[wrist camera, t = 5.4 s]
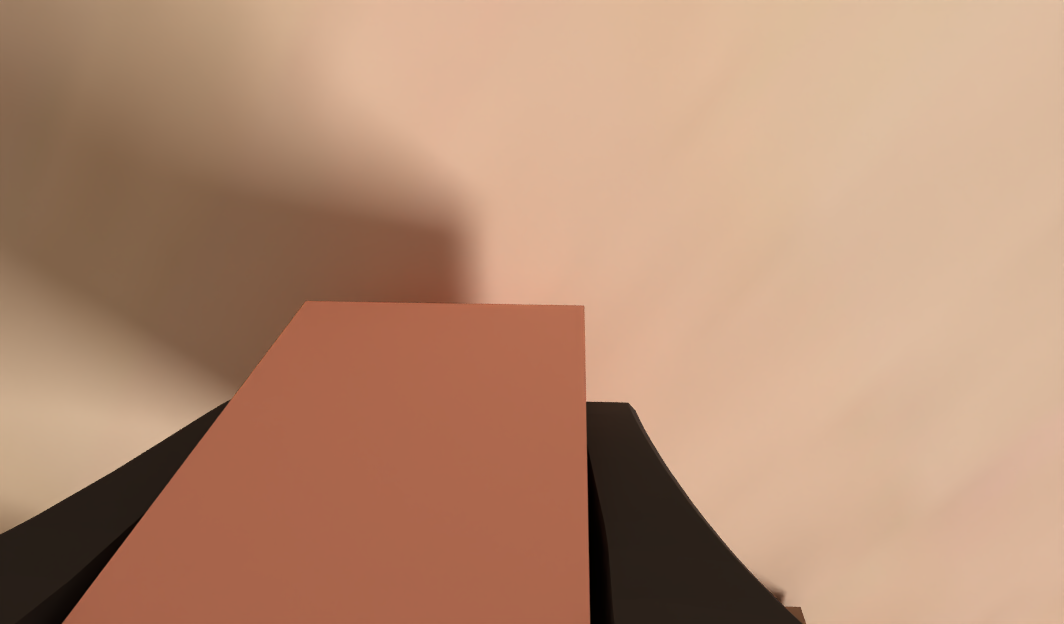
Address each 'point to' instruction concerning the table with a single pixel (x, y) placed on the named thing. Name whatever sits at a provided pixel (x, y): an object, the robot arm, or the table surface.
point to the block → (378, 480)
